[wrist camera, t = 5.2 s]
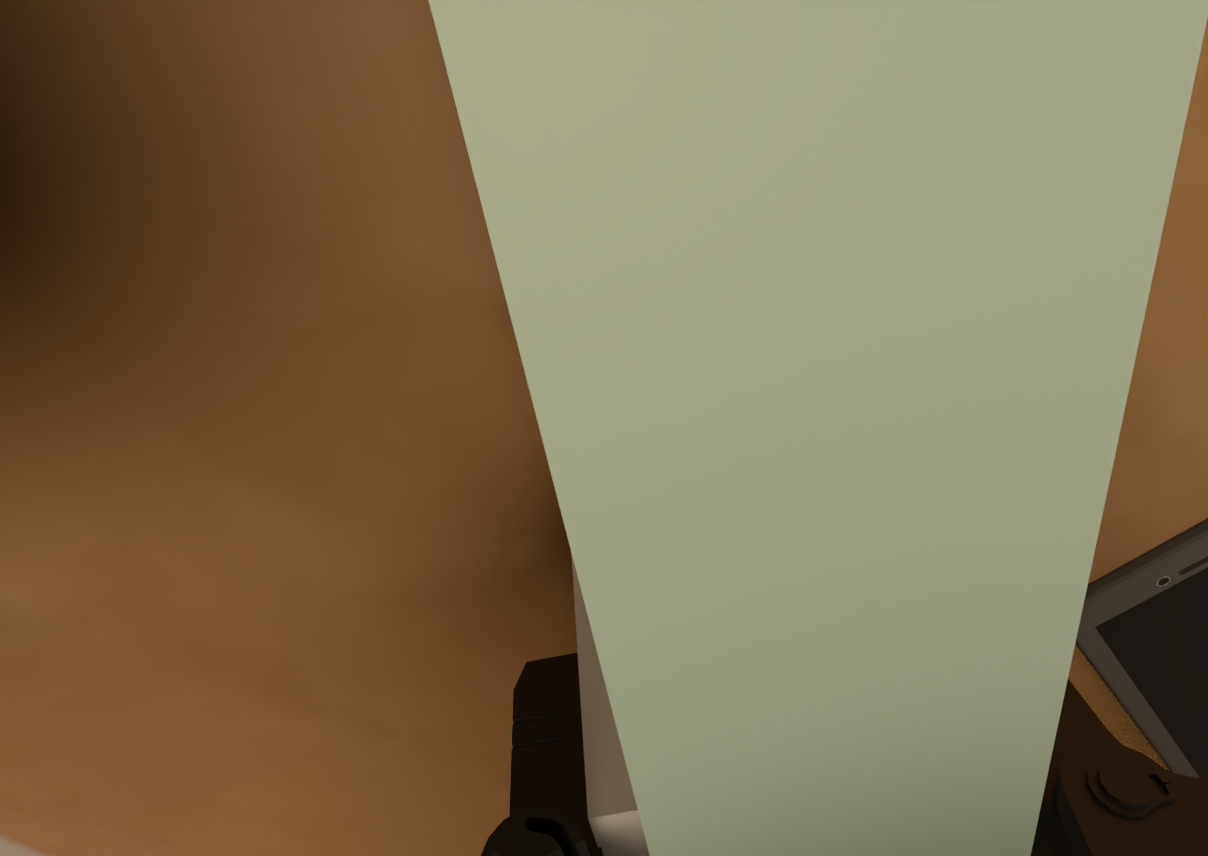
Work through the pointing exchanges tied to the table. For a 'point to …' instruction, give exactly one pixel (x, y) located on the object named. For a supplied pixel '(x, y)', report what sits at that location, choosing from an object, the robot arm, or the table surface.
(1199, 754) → the cell phone
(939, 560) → the sage green box
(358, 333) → the table surface
